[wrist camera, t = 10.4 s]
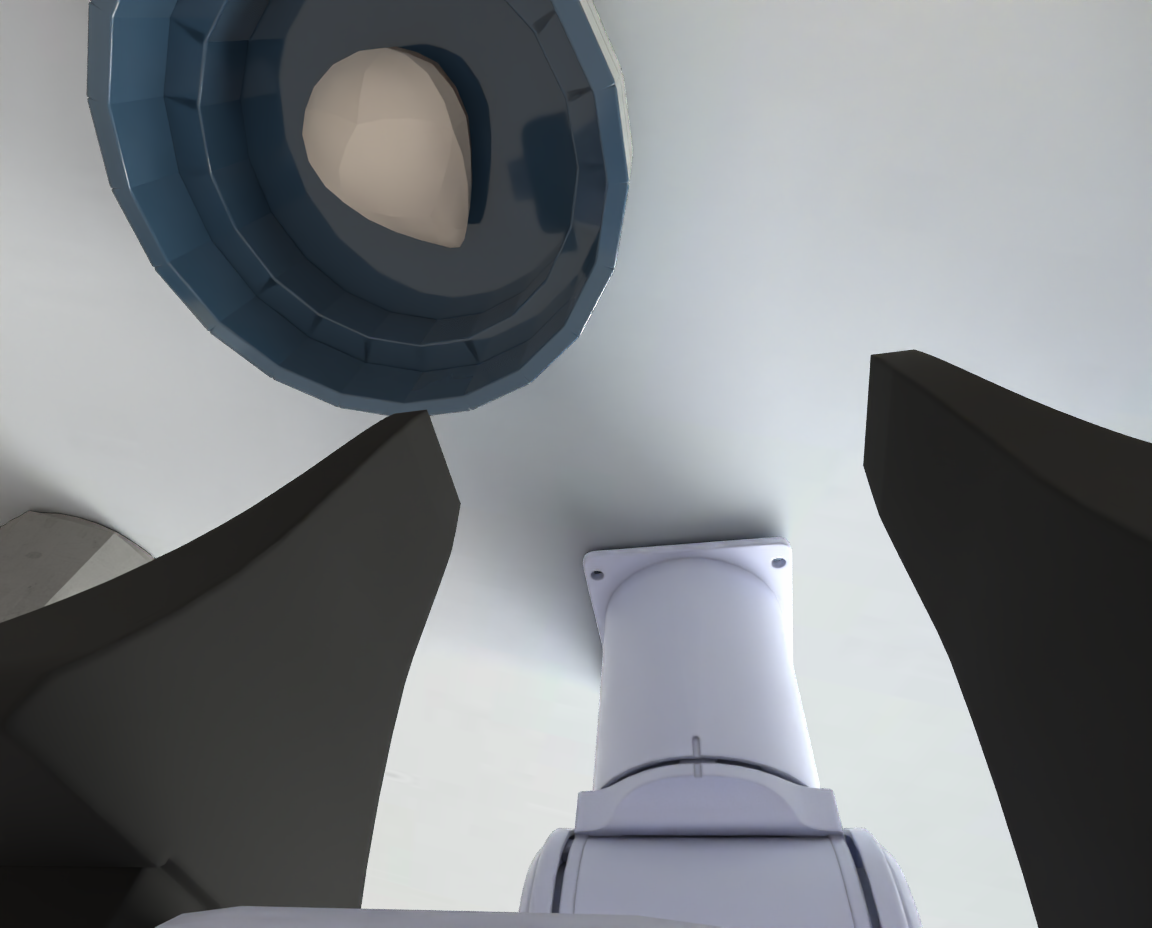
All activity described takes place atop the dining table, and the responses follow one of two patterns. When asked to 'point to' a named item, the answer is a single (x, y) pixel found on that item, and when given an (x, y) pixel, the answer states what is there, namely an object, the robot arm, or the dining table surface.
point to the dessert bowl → (339, 233)
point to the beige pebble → (393, 143)
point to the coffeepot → (58, 560)
